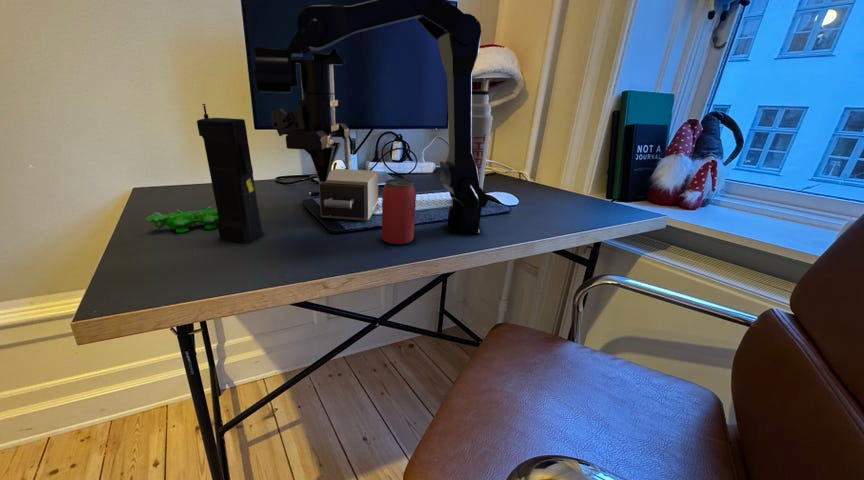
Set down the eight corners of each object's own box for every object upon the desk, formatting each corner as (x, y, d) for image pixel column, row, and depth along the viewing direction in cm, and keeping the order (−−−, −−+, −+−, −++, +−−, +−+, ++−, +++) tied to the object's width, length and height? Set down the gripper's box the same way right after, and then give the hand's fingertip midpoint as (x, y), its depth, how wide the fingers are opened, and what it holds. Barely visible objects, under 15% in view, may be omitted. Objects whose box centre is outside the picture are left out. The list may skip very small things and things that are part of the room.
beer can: (414, 246, 73) (417, 186, 67) (381, 245, 73) (382, 185, 68) (412, 234, 79) (415, 178, 73) (382, 233, 79) (383, 177, 73)
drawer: (360, 224, 81) (359, 192, 78) (315, 221, 83) (313, 189, 79) (374, 204, 95) (374, 176, 92) (335, 202, 97) (334, 174, 93)
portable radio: (269, 234, 77) (252, 104, 66) (251, 244, 72) (229, 105, 61) (238, 229, 79) (216, 103, 68) (218, 239, 74) (191, 104, 63)
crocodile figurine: (150, 227, 80) (145, 208, 78) (238, 217, 87) (235, 199, 85) (147, 238, 74) (141, 217, 72) (241, 226, 81) (238, 207, 79)
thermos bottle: (481, 207, 98) (498, 90, 85) (451, 205, 99) (463, 90, 86) (479, 199, 105) (494, 90, 92) (451, 197, 106) (462, 90, 93)
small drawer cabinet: (368, 220, 86) (367, 182, 82) (320, 217, 88) (318, 179, 84) (378, 205, 97) (378, 171, 93) (336, 202, 99) (334, 168, 95)
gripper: (295, 92, 75) (301, 169, 82) (250, 93, 58) (263, 190, 65) (348, 93, 73) (350, 172, 80) (317, 94, 57) (323, 194, 64)
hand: (323, 181), depth 72 cm, fingers closed
